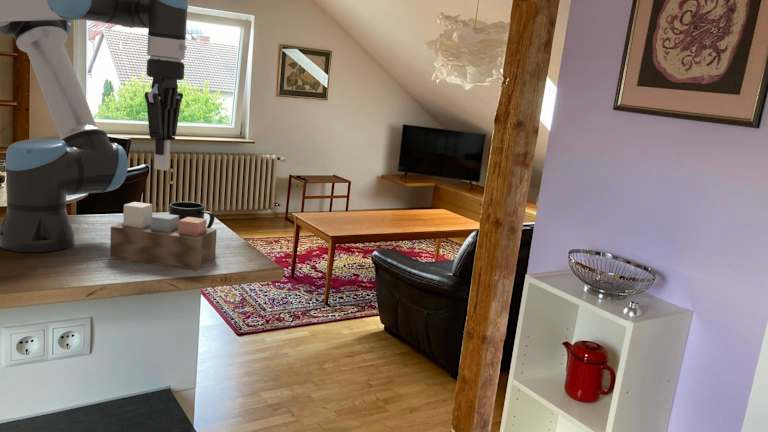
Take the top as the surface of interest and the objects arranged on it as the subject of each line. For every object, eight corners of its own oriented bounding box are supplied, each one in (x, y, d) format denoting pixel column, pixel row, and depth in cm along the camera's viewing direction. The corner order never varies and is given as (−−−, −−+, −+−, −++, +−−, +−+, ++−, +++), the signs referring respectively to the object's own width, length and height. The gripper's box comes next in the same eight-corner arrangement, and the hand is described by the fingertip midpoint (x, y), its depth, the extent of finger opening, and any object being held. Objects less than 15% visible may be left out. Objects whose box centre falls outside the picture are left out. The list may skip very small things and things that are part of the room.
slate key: (150, 247, 140) (151, 216, 139) (160, 242, 145) (160, 213, 143) (168, 250, 140) (169, 219, 138) (178, 245, 144) (179, 215, 143)
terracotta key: (177, 251, 140) (179, 220, 138) (186, 246, 144) (188, 216, 142) (196, 254, 139) (198, 223, 138) (205, 249, 143) (206, 219, 142)
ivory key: (123, 235, 141) (123, 205, 139) (133, 231, 145) (134, 201, 144) (141, 238, 140) (142, 207, 139) (151, 234, 145) (152, 204, 143)
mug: (199, 252, 150) (201, 213, 148) (160, 242, 155) (161, 204, 153) (221, 245, 158) (223, 208, 156) (184, 236, 162) (185, 200, 160)
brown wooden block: (110, 257, 139) (110, 226, 138) (134, 246, 149) (135, 217, 148) (196, 270, 137) (197, 239, 135) (215, 258, 146) (216, 229, 145)
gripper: (168, 60, 127) (163, 175, 132) (196, 62, 140) (190, 167, 145) (133, 55, 128) (129, 170, 133) (164, 58, 141) (159, 163, 146)
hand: (161, 169), depth 139 cm, fingers closed
